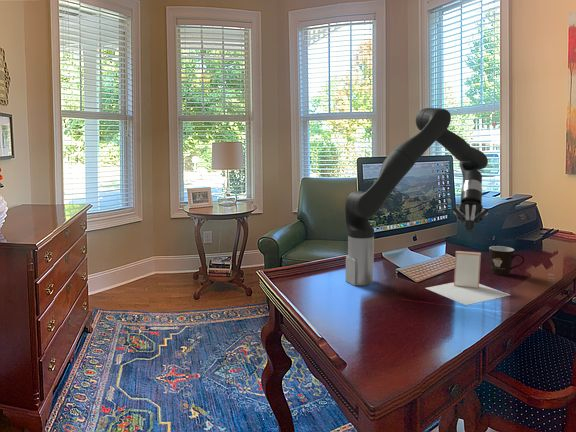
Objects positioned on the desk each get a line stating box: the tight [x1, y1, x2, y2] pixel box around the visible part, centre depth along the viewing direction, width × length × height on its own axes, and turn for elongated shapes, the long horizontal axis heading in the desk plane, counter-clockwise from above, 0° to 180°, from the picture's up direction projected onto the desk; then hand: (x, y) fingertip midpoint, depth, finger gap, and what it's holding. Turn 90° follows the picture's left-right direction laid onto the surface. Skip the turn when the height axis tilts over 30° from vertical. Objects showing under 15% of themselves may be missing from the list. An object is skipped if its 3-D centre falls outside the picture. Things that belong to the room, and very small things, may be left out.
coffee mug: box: [488, 245, 525, 277], centre depth 163 cm, size 12×9×10 cm
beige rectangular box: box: [453, 250, 482, 289], centre depth 150 cm, size 3×8×12 cm, turn 66°
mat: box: [425, 282, 511, 307], centre depth 146 cm, size 20×18×1 cm
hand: (469, 230), depth 160 cm, fingers closed
